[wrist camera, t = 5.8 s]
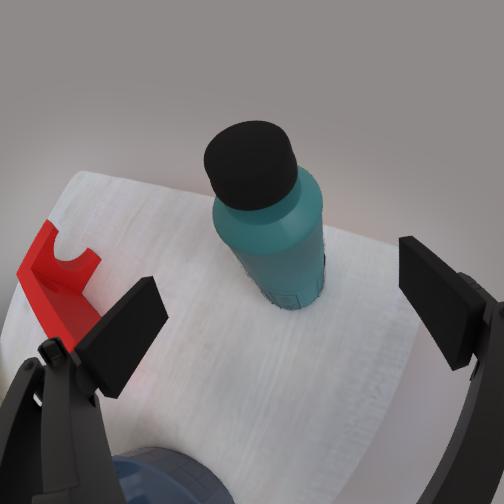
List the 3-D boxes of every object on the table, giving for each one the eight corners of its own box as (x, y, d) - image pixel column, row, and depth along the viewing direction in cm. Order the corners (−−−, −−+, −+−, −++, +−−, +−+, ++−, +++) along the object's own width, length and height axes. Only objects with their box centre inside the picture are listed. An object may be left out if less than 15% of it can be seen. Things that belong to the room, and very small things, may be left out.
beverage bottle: (337, 279, 28) (354, 127, 10) (296, 328, 27) (245, 241, 9) (290, 244, 31) (245, 87, 13) (250, 289, 30) (149, 166, 12)
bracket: (13, 279, 27) (46, 219, 29) (61, 301, 36) (92, 250, 38) (60, 370, 19) (106, 286, 22) (123, 377, 29) (163, 312, 31)
